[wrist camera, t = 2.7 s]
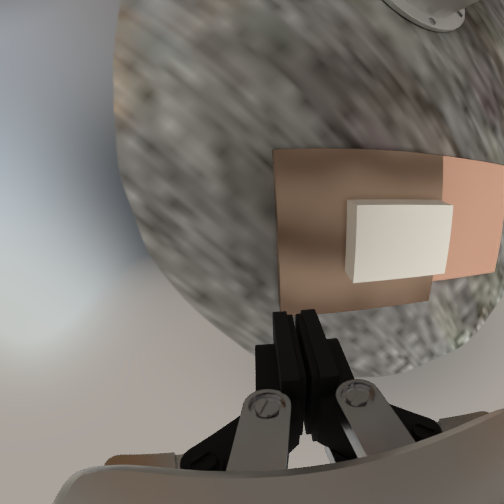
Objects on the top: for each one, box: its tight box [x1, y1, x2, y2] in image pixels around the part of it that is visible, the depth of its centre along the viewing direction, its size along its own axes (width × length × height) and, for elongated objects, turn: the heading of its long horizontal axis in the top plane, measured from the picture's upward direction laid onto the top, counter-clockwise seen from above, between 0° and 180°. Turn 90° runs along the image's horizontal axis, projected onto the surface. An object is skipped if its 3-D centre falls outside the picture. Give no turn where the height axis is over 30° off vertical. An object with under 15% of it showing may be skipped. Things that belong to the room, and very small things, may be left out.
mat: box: [432, 156, 504, 281], centre depth 24 cm, size 13×12×1 cm
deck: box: [272, 148, 443, 316], centre depth 23 cm, size 14×15×2 cm
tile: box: [345, 199, 453, 283], centre depth 21 cm, size 6×9×2 cm, turn 94°
